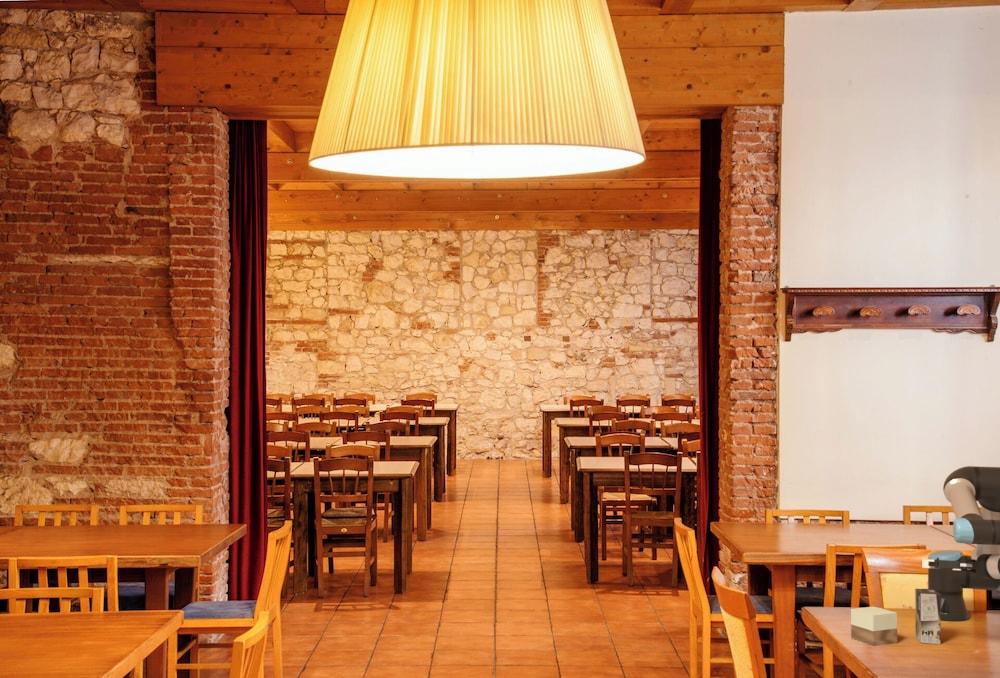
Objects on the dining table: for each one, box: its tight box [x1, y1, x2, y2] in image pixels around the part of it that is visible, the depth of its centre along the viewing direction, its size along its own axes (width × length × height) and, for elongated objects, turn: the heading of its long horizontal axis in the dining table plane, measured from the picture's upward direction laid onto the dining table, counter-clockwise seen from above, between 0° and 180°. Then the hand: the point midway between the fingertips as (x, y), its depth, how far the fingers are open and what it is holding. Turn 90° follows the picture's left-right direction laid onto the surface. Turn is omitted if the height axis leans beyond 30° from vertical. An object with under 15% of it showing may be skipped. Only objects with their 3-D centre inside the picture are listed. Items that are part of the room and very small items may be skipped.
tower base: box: [850, 623, 898, 647], centre depth 340 cm, size 10×10×5 cm
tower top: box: [850, 606, 898, 631], centre depth 340 cm, size 10×10×5 cm
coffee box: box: [914, 588, 942, 645], centre depth 341 cm, size 9×6×16 cm
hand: (938, 564), depth 338 cm, fingers open, 13 cm apart
